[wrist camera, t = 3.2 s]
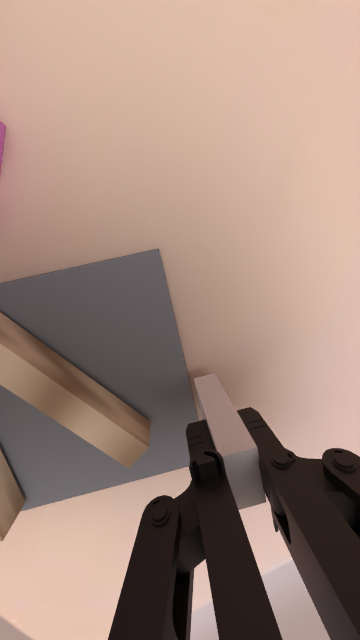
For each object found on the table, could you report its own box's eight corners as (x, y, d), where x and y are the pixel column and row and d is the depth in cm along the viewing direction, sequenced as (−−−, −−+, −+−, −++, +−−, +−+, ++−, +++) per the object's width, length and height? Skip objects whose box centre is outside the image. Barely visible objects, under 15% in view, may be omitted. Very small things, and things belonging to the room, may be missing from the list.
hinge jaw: (-41, 320, 14) (-84, 329, 11) (-22, 296, 14) (-62, 301, 11) (133, 440, 17) (128, 468, 14) (150, 421, 16) (149, 447, 14)
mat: (-88, 303, 14) (-95, 303, 14) (158, 249, 15) (158, 248, 14) (13, 508, 18) (10, 513, 17) (206, 457, 18) (207, 461, 18)
